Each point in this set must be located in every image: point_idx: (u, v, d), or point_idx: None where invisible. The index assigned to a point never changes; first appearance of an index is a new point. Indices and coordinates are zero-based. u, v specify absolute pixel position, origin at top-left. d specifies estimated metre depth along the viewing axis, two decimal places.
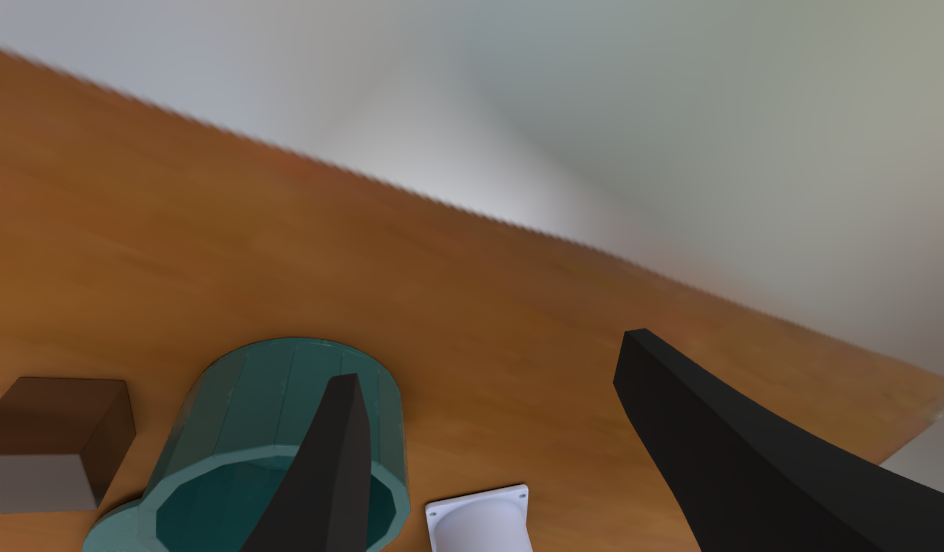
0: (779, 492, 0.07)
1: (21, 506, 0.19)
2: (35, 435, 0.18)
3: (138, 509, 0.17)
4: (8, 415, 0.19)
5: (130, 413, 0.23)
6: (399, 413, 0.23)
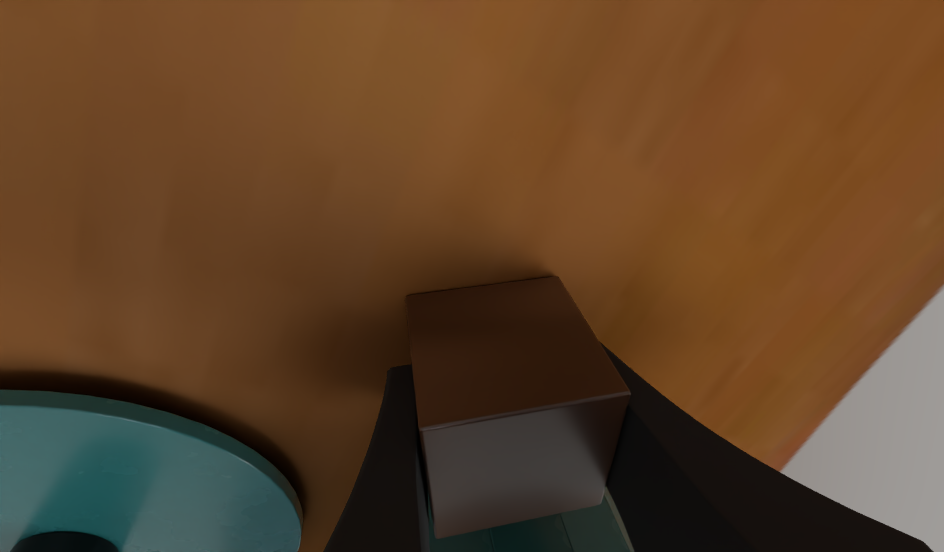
0: (698, 510, 0.07)
1: (453, 471, 0.09)
2: None
3: None
4: None
5: None
6: None
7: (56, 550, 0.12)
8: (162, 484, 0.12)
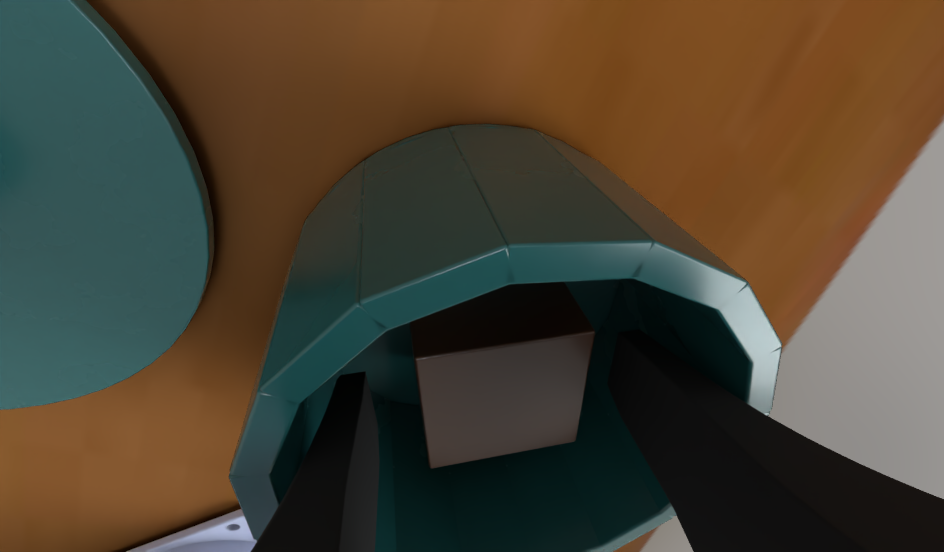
0: (769, 494, 0.07)
1: (444, 401, 0.10)
2: None
3: (652, 244, 0.07)
4: None
5: None
6: None
7: None
8: None
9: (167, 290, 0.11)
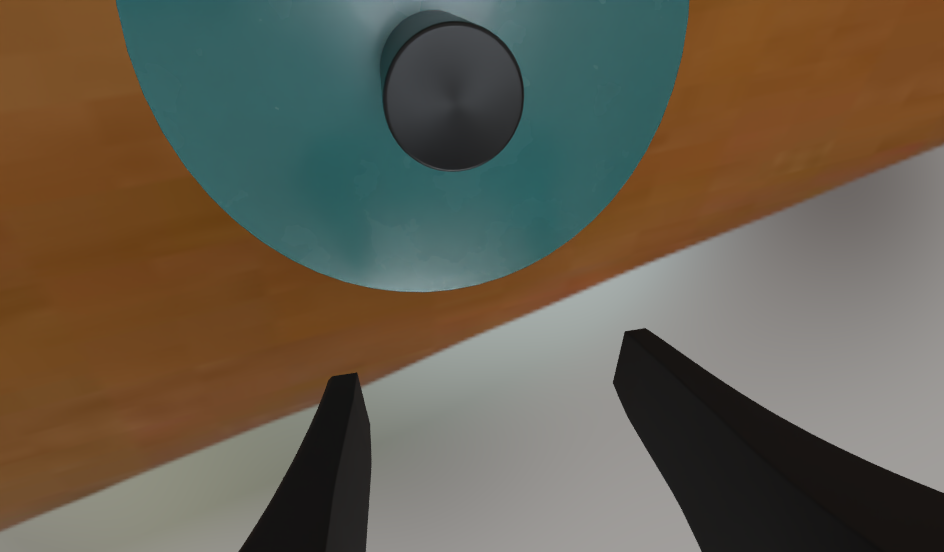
0: (779, 492, 0.07)
1: None
2: None
3: None
4: None
5: None
6: None
7: None
8: (579, 140, 0.12)
9: (434, 272, 0.14)
